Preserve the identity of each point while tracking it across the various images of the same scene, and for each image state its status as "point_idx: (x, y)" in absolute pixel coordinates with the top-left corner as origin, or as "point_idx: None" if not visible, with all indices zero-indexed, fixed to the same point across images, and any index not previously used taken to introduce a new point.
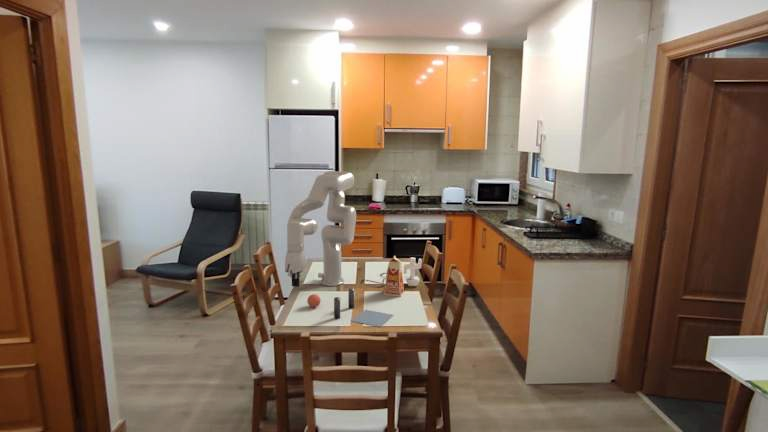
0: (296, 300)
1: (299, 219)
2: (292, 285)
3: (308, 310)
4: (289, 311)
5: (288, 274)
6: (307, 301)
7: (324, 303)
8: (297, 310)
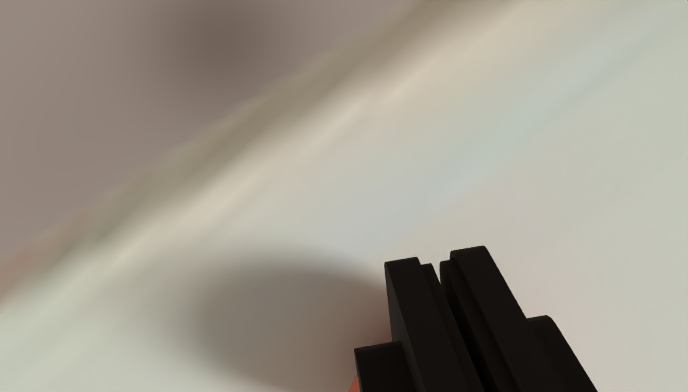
0: (509, 14)
1: None
2: (390, 281)
3: (287, 383)
4: (96, 240)
5: None
6: None
7: None
8: (198, 293)
